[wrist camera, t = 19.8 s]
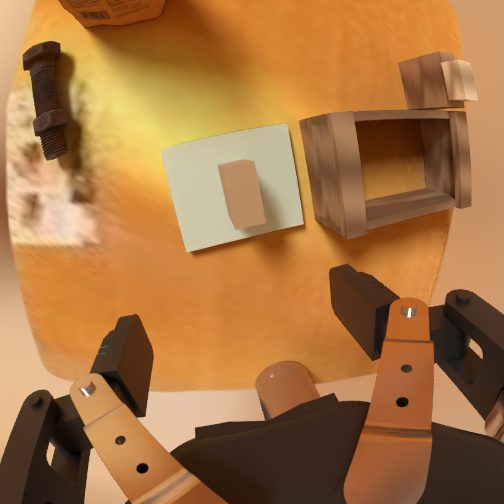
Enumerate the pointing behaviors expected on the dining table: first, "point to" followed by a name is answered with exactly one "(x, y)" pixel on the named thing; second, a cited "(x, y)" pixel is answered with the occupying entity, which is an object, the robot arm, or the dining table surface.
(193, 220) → the lid
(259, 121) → the dining table surface
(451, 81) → the tan wooden block
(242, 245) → the dining table surface
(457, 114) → the wooden box frame
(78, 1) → the coffee package
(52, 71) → the bolt
